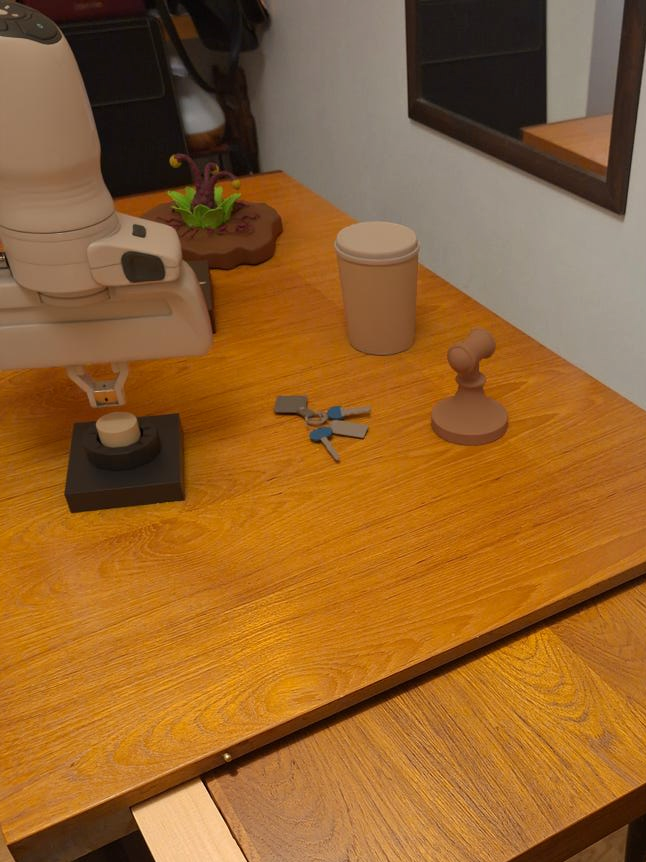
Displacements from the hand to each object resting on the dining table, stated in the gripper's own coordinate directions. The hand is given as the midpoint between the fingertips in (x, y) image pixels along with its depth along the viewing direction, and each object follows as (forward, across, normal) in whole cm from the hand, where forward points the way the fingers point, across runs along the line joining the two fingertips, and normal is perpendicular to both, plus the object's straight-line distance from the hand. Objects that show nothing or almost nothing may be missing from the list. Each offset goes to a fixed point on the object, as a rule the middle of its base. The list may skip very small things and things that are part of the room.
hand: (109, 403), depth 81 cm
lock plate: (+7, +4, +34) cm, 35 cm away
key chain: (+7, +20, +5) cm, 22 cm away
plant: (+8, +9, +55) cm, 56 cm away
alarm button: (+4, 0, 0) cm, 4 cm away
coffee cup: (+7, +28, +22) cm, 36 cm away
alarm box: (+7, 0, 0) cm, 7 cm away
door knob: (+7, +34, +2) cm, 35 cm away
